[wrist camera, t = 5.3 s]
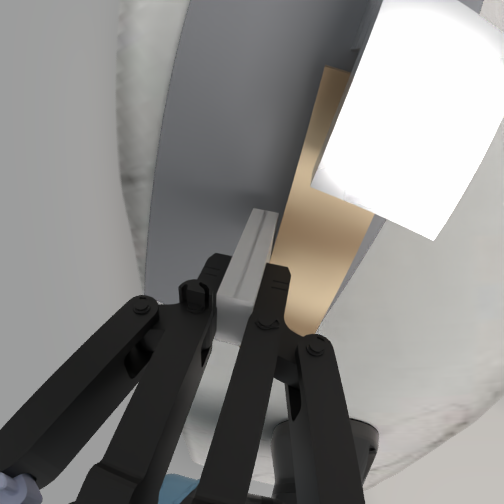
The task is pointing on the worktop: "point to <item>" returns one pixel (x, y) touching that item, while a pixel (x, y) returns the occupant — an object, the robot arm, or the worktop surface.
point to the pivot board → (240, 125)
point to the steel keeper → (414, 111)
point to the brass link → (317, 223)
